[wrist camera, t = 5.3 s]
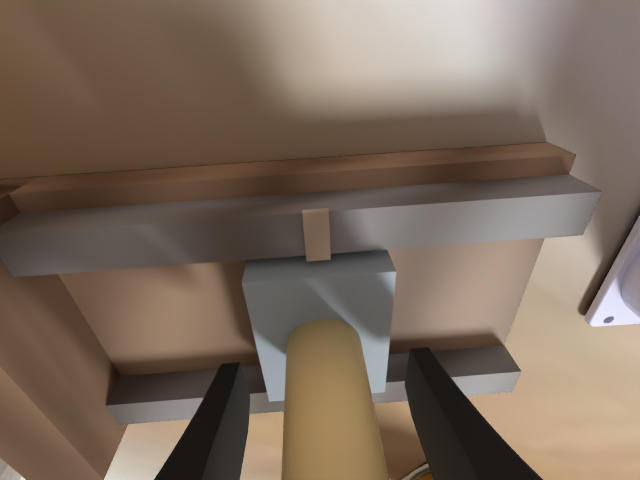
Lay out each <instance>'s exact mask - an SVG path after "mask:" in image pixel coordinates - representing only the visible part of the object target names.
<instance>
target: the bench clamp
mask: <svg viewBox="0 0 640 480" xmlns="http://www.w3.org/2000/svg"><path fill="white" fill-rule="evenodd" d="M575 156H576V154H573V153H571V152H569V151H567V150H564V149H562V148H560V147H557V146H555V145H553V144H550V143H548V142H545V143H530V144H515V145H501V146H486V147H471V148H456V149H442V150H427V151H412V152H397V153H383V154H368V155H353V156H338V157H324V158H309V159H294V160H279V161H265V162H250V163H235V164H220V165H206V166H191V167H176V168H161V169H147V170H132V171H117V172H102V173H88V174H73V175H58V176H44V177H29V178H14V179H0V458H1V459H2V460H3V461H4V462H6V463H7V464H8V465H9V466H10V467H12V468H13V469H14V470H15V471H16V472H18V473H19V474H20V475H21V476H22V477H24V478H25V479H26V480H104V478H105V476H106V473H107V471H108V469H109V467H110V464H111V462H112V460H113V457H114V455H115V453H116V451H117V448H118V446H119V444H120V441H121V439H122V437H123V434H124V432H125V430H126V428H127V425H128V424H135V423H147V422H159V421H171V420H183V419H192V418H193V416H194V414H195V413H196V411H197V409H198V407H199V405H200V404H201V402H202V400H203V398H204V396H205V394H206V392H207V390H208V389H209V387H210V385H211V383H212V381H213V379H214V377H215V375H216V372H217V370H218V368H219V366H220V365H221V364H224V363H236V362H240V363H241V367H242V370H243V374H244V377H245V381H246V384H247V388H248V391H249V395H250V411H249V414H255V413H267V412H279V411H284V401H271V402H269V398H268V394H267V390H266V386H265V381H264V377H263V373H262V368H261V364H260V360H259V356H258V351H257V347H256V343H255V338H254V334H253V330H252V325H251V321H250V317H249V313H248V308H247V304H246V300H245V295H244V291H243V287H242V279H243V275H244V271H245V266H246V262H247V260H253V259H266V258H280V257H293V256H306V260H307V261H320V260H331V254H334V253H348V252H361V251H375V250H388V252H389V255H390V257H391V260H392V262H393V265H394V267H395V269H396V281H395V291H394V302H393V312H392V323H391V333H390V344H389V354H388V365H387V375H386V386H385V392H380V393H372V398H373V403H374V404H375V403H387V402H399V401H408V398H407V394H406V389H405V379H406V372H407V365H408V358H409V351H410V349H411V348H424V347H428V348H429V349H431V351H432V352H433V354H434V355H435V357H436V358H437V359H438V361H439V362H440V363H441V365H442V366H443V368H444V369H445V370H446V372H447V373H448V374H449V376H450V377H451V378H452V379H453V381H454V382H455V383H456V385H457V386H458V387H459V388H460V390H461V391H462V392H463V393H464V395H465V396H471V395H483V394H495V393H507V392H512V391H513V389H514V387H515V385H516V383H517V380H518V378H519V376H520V374H521V370H520V369H519V367H518V366H517V364H516V363H515V361H514V360H513V358H512V357H511V355H510V354H509V352H508V350H507V349H506V347H505V346H504V344H505V342H506V339H507V336H508V334H509V331H510V328H511V326H512V323H513V320H514V318H515V315H516V313H517V310H518V307H519V305H520V302H521V299H522V297H523V294H524V291H525V289H526V286H527V283H528V281H529V278H530V276H531V273H532V270H533V268H534V265H535V262H536V260H537V257H538V254H539V252H540V249H541V246H542V244H543V241H544V238H551V237H565V236H578V235H583V234H584V231H585V229H586V227H587V225H588V222H589V220H590V218H591V216H592V214H593V211H594V209H595V207H596V205H597V202H598V200H599V198H600V196H601V194H602V191H600V190H598V189H596V188H594V187H592V186H590V185H589V184H587V183H585V182H583V181H581V180H579V179H577V178H575V177H573V176H571V175H569V172H570V170H571V167H572V164H573V162H574V159H575Z"/></svg>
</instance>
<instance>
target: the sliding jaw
mask: <svg viewBox="0 0 640 480" xmlns="http://www.w3.org/2000/svg"><path fill="white" fill-rule="evenodd" d="M395 281H396V269H395V267H394V265H393V262H392V260H391V257H390V255H389V252H388V250H375V251H361V252H348V253H334V254H331V260H320V261H307V260H306V256H293V257H280V258H266V259H253V260H247V262H246V266H245V271H244V275H243V279H242V287H243V291H244V295H245V300H246V304H247V308H248V313H249V317H250V321H251V325H252V330H253V334H254V338H255V343H256V347H257V351H258V356H259V360H260V364H261V368H262V373H263V377H264V381H265V386H266V390H267V394H268V398H269V402H271V401H284V425H283V452H282V478H281V480H389V476H388V472H387V467H386V462H385V457H384V452H383V447H382V442H381V437H380V432H379V427H378V422H377V417H376V413H375V408H374V403H373V398H372V393H380V392H385V386H386V375H387V365H388V354H389V344H390V333H391V323H392V312H393V302H394V291H395Z"/></svg>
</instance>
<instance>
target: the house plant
mask: <svg viewBox="0 0 640 480" xmlns="http://www.w3.org/2000/svg"><path fill="white" fill-rule="evenodd" d="M20 478H21V475H20V474H19V473H18V472H16V471H15V470H14V469H13V468H12V467H10V466H9V465H8V464H7V463H6V462H4V461H3V460H2V459H1V458H0V480H20Z"/></svg>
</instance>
